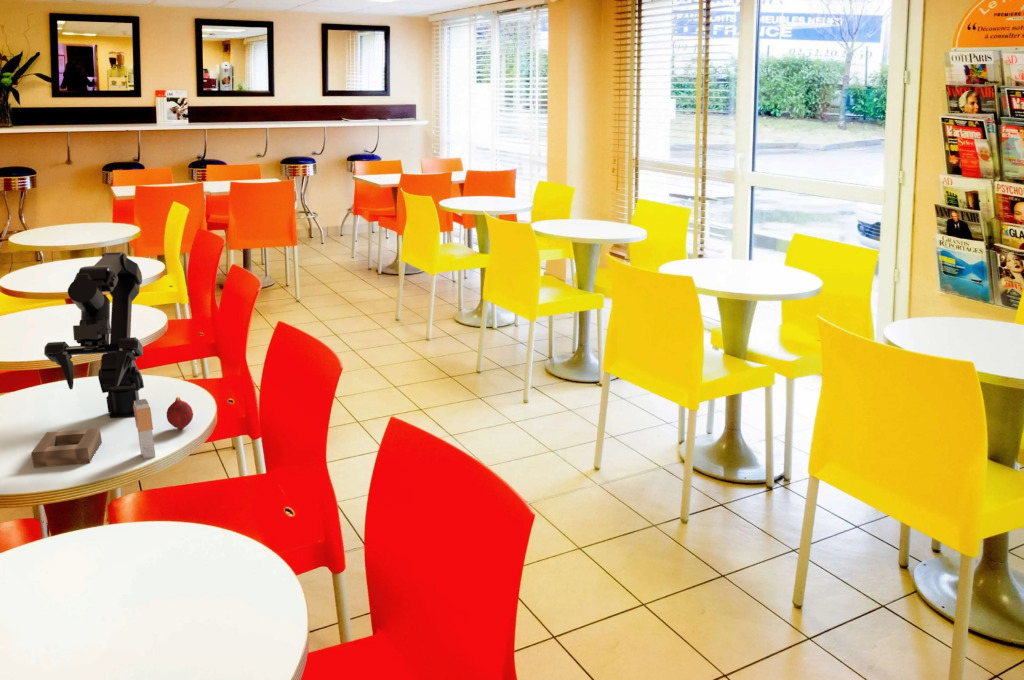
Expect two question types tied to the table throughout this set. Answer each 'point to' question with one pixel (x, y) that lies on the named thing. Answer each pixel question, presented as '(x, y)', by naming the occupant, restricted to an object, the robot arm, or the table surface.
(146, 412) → the banded grey brick
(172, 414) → the onion
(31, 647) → the table surface
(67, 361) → the robot arm
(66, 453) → the block
